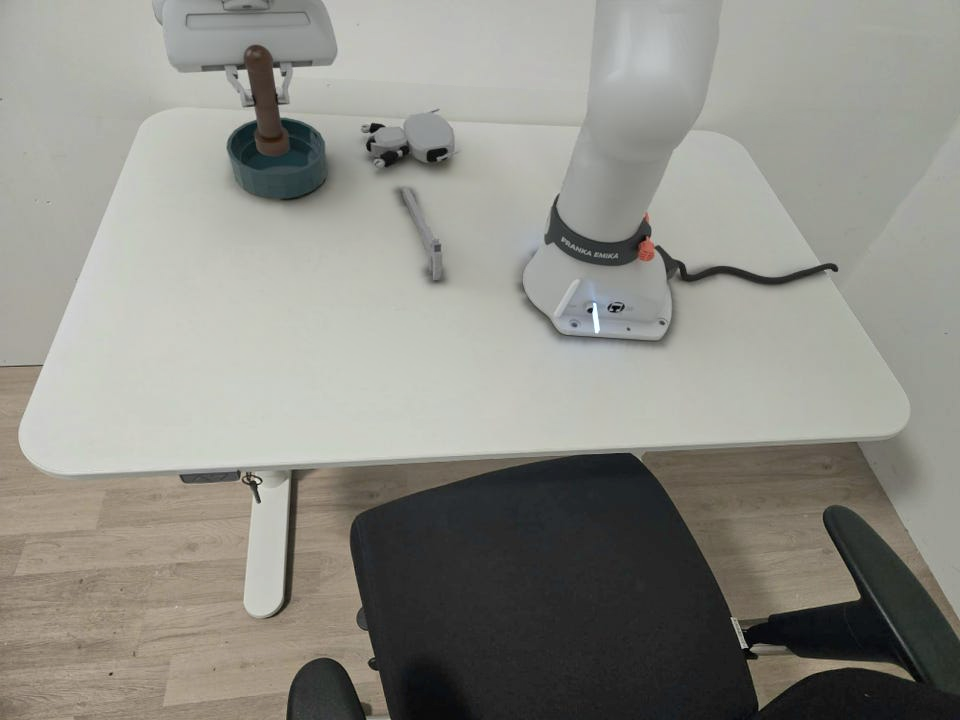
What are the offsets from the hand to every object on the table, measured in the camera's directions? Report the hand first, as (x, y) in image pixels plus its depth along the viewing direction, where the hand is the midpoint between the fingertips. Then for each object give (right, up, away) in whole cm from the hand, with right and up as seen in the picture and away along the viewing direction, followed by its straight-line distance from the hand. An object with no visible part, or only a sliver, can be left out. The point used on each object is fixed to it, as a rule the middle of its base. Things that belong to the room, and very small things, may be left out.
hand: (266, 104), depth 74 cm
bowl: (-4, -3, +18) cm, 19 cm away
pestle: (-1, -3, +6) cm, 7 cm away
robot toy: (+15, +3, +25) cm, 30 cm away
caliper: (+18, -14, +14) cm, 27 cm away
